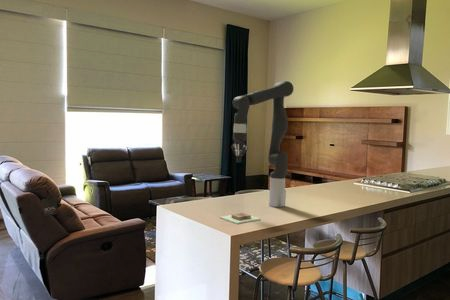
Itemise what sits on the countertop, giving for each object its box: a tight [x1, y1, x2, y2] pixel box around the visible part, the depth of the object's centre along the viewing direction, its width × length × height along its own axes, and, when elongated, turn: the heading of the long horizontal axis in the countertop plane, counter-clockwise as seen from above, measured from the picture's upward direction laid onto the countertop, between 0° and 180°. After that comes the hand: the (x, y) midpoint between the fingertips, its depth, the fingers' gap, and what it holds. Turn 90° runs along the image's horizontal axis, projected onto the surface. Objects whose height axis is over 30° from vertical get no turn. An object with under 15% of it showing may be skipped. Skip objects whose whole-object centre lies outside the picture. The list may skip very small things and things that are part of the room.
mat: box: [219, 214, 262, 225], centre depth 197 cm, size 16×14×1 cm
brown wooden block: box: [231, 212, 252, 220], centre depth 197 cm, size 8×2×6 cm
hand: (238, 162), depth 218 cm, fingers closed
